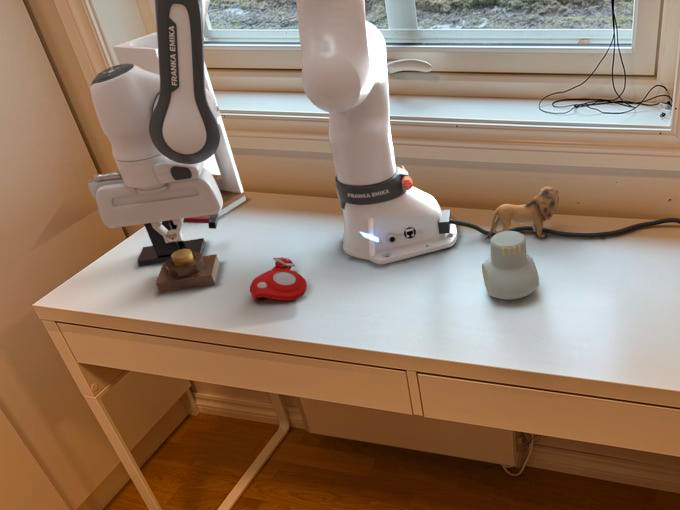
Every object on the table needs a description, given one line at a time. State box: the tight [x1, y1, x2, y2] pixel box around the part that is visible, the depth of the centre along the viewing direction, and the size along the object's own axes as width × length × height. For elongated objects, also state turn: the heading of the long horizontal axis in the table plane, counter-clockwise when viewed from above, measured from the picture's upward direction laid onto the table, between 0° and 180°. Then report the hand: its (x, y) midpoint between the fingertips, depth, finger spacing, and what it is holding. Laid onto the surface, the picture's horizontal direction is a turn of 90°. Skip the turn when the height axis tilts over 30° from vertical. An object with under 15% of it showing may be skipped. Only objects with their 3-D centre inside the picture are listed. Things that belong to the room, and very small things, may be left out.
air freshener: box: [481, 230, 540, 301], centre depth 117 cm, size 11×8×10 cm
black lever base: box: [136, 220, 206, 267], centre depth 137 cm, size 12×6×10 cm, turn 101°
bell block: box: [155, 251, 221, 294], centre depth 130 cm, size 10×8×4 cm
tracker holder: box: [249, 256, 308, 302], centre depth 125 cm, size 12×4×10 cm
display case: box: [112, 31, 247, 218], centre depth 146 cm, size 11×11×35 cm
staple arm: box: [169, 214, 220, 230], centre depth 136 cm, size 12×5×2 cm, turn 101°
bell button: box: [171, 249, 194, 266], centre depth 129 cm, size 4×4×2 cm
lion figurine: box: [485, 185, 560, 240], centre depth 133 cm, size 15×5×9 cm, turn 103°
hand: (174, 240), depth 127 cm, fingers closed
